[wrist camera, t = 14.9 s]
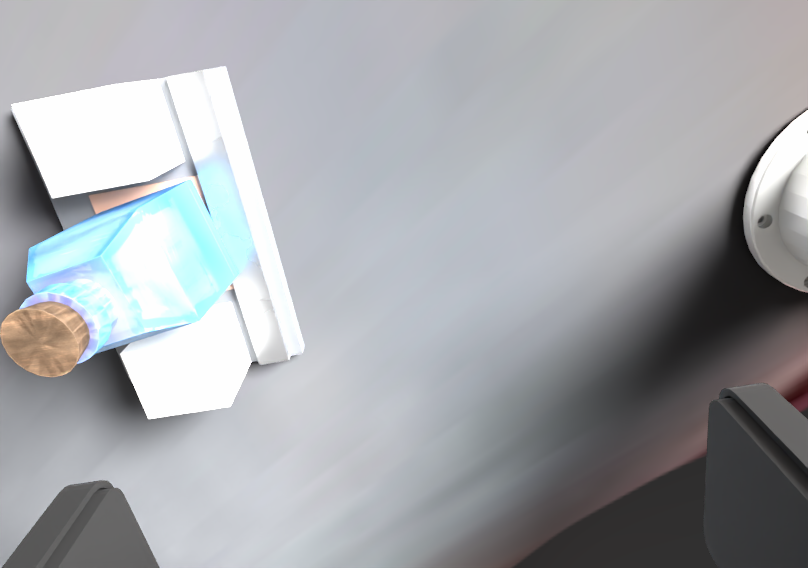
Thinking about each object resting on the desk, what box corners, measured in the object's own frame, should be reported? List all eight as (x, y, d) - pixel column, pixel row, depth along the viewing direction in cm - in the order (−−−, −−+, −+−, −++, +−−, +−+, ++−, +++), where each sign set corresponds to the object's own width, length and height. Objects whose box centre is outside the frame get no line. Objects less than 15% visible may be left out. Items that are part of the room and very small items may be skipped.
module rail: (304, 346, 38) (288, 397, 32) (136, 373, 38) (92, 428, 33) (225, 66, 31) (187, 70, 25) (21, 105, 31) (-59, 118, 26)
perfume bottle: (191, 178, 32) (60, 252, 21) (239, 274, 34) (144, 386, 23) (99, 212, 33) (-71, 299, 22) (152, 302, 35) (22, 422, 24)
